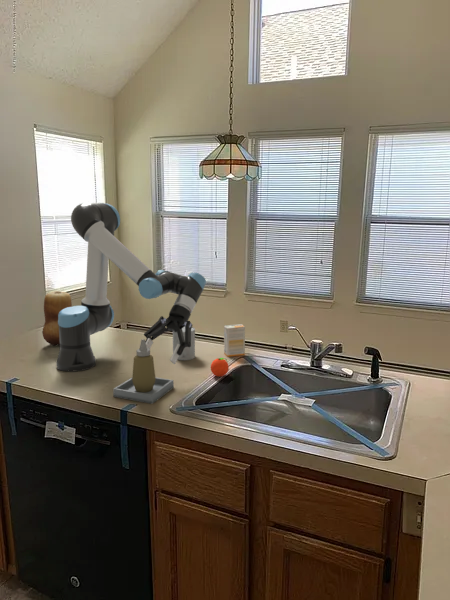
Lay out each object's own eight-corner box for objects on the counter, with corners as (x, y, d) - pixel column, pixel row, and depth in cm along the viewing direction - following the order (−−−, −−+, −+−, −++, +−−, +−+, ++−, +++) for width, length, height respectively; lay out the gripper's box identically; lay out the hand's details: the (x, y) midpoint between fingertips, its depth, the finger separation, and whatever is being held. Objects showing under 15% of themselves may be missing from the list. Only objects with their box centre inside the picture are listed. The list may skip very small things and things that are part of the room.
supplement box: (241, 352, 205) (241, 323, 202) (244, 355, 200) (245, 326, 198) (223, 353, 202) (223, 325, 200) (227, 357, 198) (227, 327, 195)
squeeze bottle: (136, 395, 155) (134, 344, 151) (129, 387, 162) (128, 338, 158) (159, 391, 158) (158, 341, 155) (151, 383, 165) (150, 335, 162)
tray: (113, 396, 156) (113, 388, 155) (137, 381, 170) (137, 374, 169) (152, 403, 150) (152, 395, 150) (173, 387, 164) (173, 380, 164)
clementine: (220, 370, 181) (220, 353, 180) (234, 374, 177) (234, 357, 176) (206, 376, 175) (206, 358, 174) (220, 380, 171) (220, 362, 170)
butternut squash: (68, 349, 207) (64, 294, 202) (38, 348, 207) (34, 294, 202) (78, 340, 220) (75, 289, 215) (50, 340, 220) (47, 288, 215)
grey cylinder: (168, 358, 196) (168, 330, 193) (179, 352, 204) (179, 325, 202) (189, 361, 192) (188, 333, 190) (198, 354, 201) (198, 327, 198)
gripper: (213, 319, 169) (190, 370, 160) (161, 310, 182) (136, 357, 173) (205, 307, 163) (180, 359, 154) (151, 300, 176) (125, 347, 167)
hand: (157, 358), depth 163 cm, fingers open, 13 cm apart
